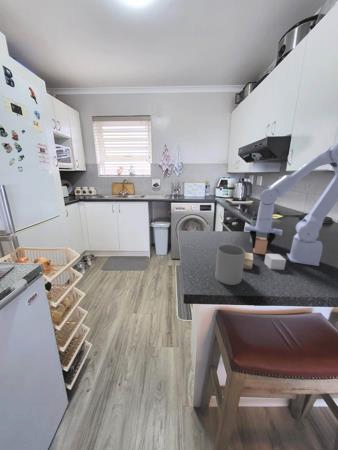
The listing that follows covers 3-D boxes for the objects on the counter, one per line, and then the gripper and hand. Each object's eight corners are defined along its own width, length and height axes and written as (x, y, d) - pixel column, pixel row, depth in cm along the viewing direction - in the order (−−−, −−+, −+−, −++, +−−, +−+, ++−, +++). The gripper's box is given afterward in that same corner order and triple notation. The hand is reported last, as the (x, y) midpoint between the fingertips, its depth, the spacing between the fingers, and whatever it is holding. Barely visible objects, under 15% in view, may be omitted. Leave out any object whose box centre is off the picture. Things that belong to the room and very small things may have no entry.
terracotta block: (264, 250, 85) (266, 238, 83) (265, 254, 81) (267, 241, 79) (253, 249, 86) (255, 236, 85) (254, 253, 82) (256, 240, 81)
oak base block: (251, 263, 74) (252, 253, 73) (251, 270, 68) (253, 259, 67) (235, 260, 76) (236, 250, 75) (234, 266, 71) (235, 256, 69)
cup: (221, 268, 68) (224, 242, 66) (244, 276, 63) (248, 249, 61) (210, 278, 62) (213, 250, 59) (235, 288, 57) (239, 257, 54)
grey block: (277, 263, 74) (279, 254, 73) (284, 270, 69) (286, 260, 68) (264, 262, 74) (265, 253, 73) (269, 269, 69) (271, 259, 68)
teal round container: (264, 248, 88) (268, 223, 85) (243, 242, 96) (247, 218, 92) (273, 243, 95) (277, 220, 91) (253, 237, 102) (256, 216, 99)
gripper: (282, 217, 81) (276, 247, 84) (245, 214, 85) (241, 243, 89) (285, 221, 74) (279, 253, 78) (246, 218, 79) (242, 248, 83)
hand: (259, 248), depth 83 cm, fingers closed on terracotta block, 4 cm apart
